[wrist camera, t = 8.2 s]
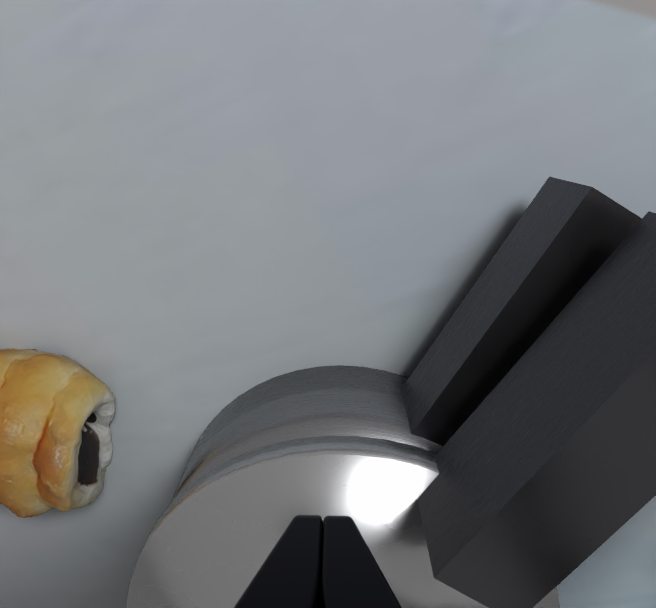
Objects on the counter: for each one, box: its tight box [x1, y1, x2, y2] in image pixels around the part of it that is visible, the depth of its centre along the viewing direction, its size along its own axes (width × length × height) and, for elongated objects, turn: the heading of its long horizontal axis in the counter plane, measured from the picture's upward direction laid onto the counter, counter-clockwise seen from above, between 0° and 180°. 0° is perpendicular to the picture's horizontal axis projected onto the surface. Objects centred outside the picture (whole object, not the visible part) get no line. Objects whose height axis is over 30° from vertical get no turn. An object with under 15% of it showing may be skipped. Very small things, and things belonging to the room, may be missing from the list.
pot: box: [170, 177, 642, 504], centre depth 20 cm, size 14×26×5 cm, turn 150°
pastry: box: [0, 349, 115, 518], centre depth 20 cm, size 9×7×4 cm
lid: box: [126, 212, 656, 608], centre depth 15 cm, size 14×23×4 cm, turn 147°
